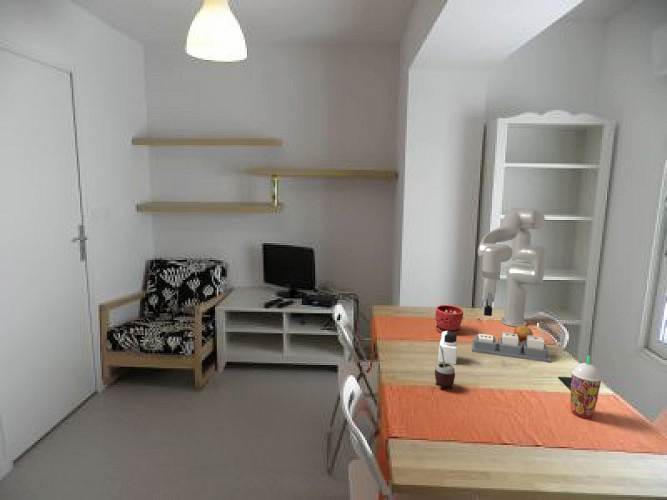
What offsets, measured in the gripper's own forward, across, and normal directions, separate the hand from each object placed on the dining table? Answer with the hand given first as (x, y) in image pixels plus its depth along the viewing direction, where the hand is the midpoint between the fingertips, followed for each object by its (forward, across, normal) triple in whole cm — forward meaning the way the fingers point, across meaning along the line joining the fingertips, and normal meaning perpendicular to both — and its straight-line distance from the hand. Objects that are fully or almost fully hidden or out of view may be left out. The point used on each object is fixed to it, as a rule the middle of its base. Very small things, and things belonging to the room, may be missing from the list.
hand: (487, 315), depth 184 cm
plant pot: (+16, -15, -17) cm, 28 cm away
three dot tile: (+14, +1, 0) cm, 14 cm away
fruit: (+16, -16, +17) cm, 29 cm away
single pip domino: (+12, +1, +20) cm, 23 cm away
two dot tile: (+12, +1, +10) cm, 15 cm away
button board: (+16, +1, +10) cm, 18 cm away
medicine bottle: (+15, +19, -15) cm, 29 cm away
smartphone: (+16, +26, +31) cm, 44 cm away
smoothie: (+15, +46, +29) cm, 56 cm away
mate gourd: (+15, +43, -15) cm, 48 cm away
